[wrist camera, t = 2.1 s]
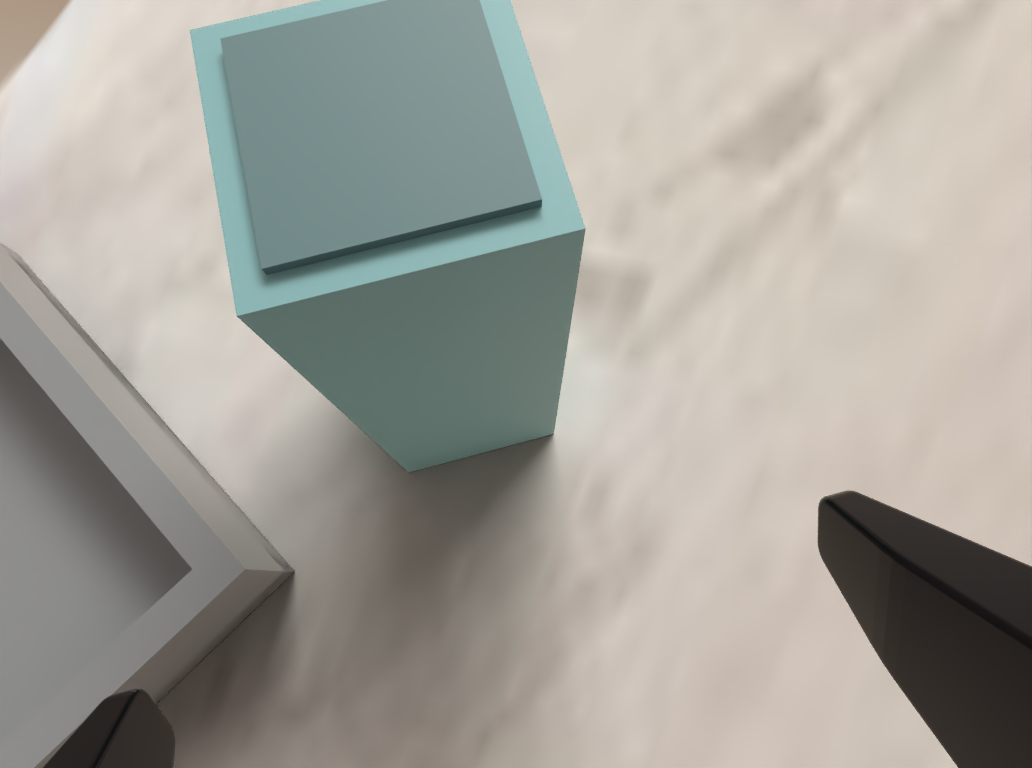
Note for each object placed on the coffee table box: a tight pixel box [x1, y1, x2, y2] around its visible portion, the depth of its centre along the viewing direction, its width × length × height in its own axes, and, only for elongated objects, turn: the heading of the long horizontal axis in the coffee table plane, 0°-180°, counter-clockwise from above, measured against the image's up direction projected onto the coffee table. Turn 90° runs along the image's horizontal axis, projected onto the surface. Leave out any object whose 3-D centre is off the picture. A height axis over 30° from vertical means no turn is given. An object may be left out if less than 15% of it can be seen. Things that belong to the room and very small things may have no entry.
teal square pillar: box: [190, 0, 585, 473], centre depth 17 cm, size 5×5×14 cm
